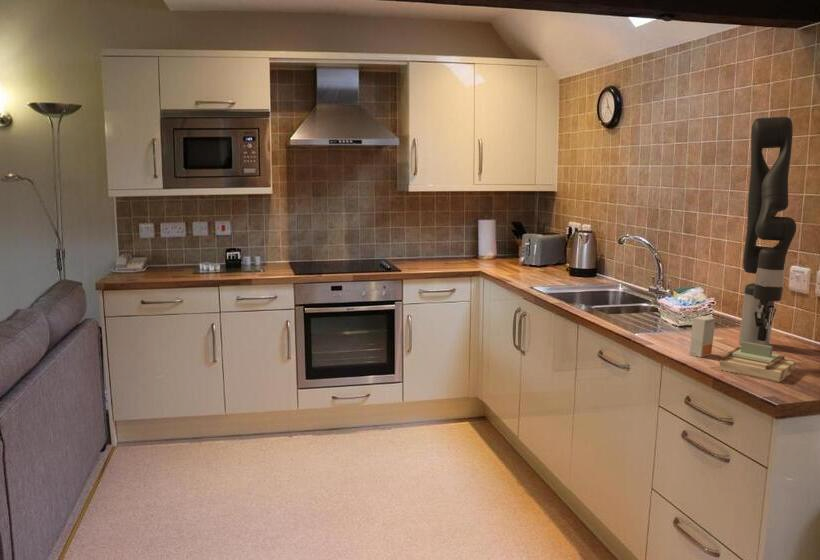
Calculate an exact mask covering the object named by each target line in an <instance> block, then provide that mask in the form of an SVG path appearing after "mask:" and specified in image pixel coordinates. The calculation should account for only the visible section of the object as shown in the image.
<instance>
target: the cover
mask: <svg viewBox="0 0 820 560" xmlns="http://www.w3.org/2000/svg"><path fill="white" fill-rule="evenodd" d="M740 345H741V347H740V348H741V349H739V350H737V351H735V352H734V353H732V356H735V357H740V358H745V359H750V360H755V361H760V362H765V363H771V362H772V361H774V360H775V359H777V358H778V357H780V356H781V354H776V353H773V345H769V346H768V345H762V344H757V343H751V342H746V341H743V342H742V344H740Z"/></svg>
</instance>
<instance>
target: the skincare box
mask: <svg viewBox="0 0 820 560" xmlns="http://www.w3.org/2000/svg"><path fill="white" fill-rule="evenodd" d="M715 324H716V317H711V316H707V315H702V316H700V315H699V316H696V317H693V318H692V326H691V334H690V335H691V336H690V343H689V351H688V354H689V355H690V356H695V357H697V356H698V358H704V357H707V356H712V351H713V343H714V335H715V334H714V333H715V326H716V325H715Z"/></svg>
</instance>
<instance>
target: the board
mask: <svg viewBox="0 0 820 560" xmlns="http://www.w3.org/2000/svg"><path fill="white" fill-rule="evenodd" d="M739 349H741V347H739V346H738V347H736V348H734V349H732V350H730V351H729V352H726V353H725V354H723V355H721V356H720V358H719V366H718V370H719V371H721V370H723V371H722V372H726V371H728V372H727V373H730V372H733V373H732V374H735V373H737V374H736V375H741V376H745V377H748V378H749V377H751V378H755V379H759V380H765V381H768V382H772V383H773V382H774V383H778V384H779V383H780V382H782V381H783V380H785V379H786V378H787V377H789V376H790V375H791V374H793V373H794V372H795V369H796V361H795V360H790V359H785V357H786V356H785V355H780V357H778V358H777V359H775V360H774V361H772V362H771V363H765V362H760V361H755V360H750V359H745V358H740V357H735V356H732V353H734V352H735V351H737V350H739Z"/></svg>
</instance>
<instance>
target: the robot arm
mask: <svg viewBox="0 0 820 560" xmlns="http://www.w3.org/2000/svg"><path fill="white" fill-rule="evenodd" d="M751 126H752V127H751V135H750V136H751V138H750V153H751V154H750V178H749V185H748V187H749V188H748V198H747V222H746V225H747V226H746V234H745V242H744V243H745V244H744V251H743V257H742V266H743V267H742V268H743V271H744V272H745V273H748V274H754V275H755V276H754V277H755V278H754V283H753V282H751V283H749V284H746V285H745V287H744V294H743V305H742V313H741V320H740V321H741V322H740V330H739V331H740V332H739V339H738V344H739V345H741V344H742V342H743V341H746V342H751V343H757V344H762V345H768V346H771V345H770V342H771V337H772V335H771V334H772V329H773V328H772V327H773V320H774V317H775V314H776V311H777V308H776V307H775V302H780V301H781V300H782V296H783V289H784V281H785V264H786V257H787V253H788V251H789V249H790V246H791V244H792V241H793V239H794V237H795V235H796V233H797V223H796V221H795V219H793V217H790V216H789V217H788V216H777V215H778V213H779V212H783V211H785V210H787V209H788V206H789V172H790V164H791V158H792V149H793V148H792V145H793V133H794V132H793V131H794V130H793V127H794V126H793V122H792V119H791V118H790V117H788V116H775V117H774V116H773V117H759V118H755V119H754V120H753V123H752V125H751ZM775 148H777V149H779V153H778V156H777V158H776V160H775V162H774V164H772V166H771V168H769V165H768V164H767V162H766V160H765V158H764V155H763V150H764V149H775ZM758 239H760V240H763V241H778V242H777V243H776V245H775V246H761V245H757V241H758Z"/></svg>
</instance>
